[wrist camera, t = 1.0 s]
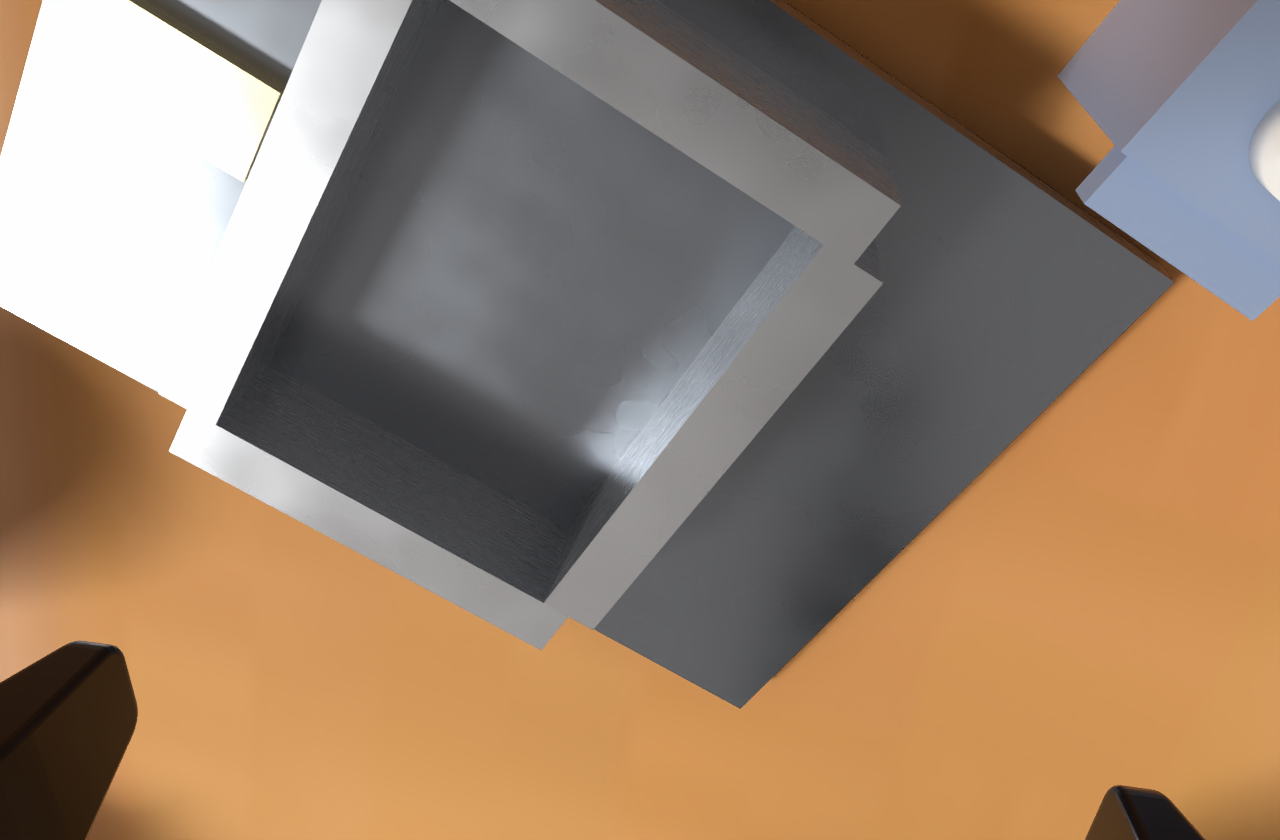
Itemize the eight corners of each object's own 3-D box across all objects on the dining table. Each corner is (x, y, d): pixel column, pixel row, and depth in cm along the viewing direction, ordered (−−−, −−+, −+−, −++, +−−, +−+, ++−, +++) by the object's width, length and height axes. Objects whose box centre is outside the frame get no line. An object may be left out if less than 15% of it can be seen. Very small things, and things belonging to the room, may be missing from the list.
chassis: (1161, 265, 20) (1219, 345, 17) (741, 685, 27) (735, 790, 24) (183, -418, 16) (58, -456, 14) (-11, 272, 23) (-120, 341, 21)
